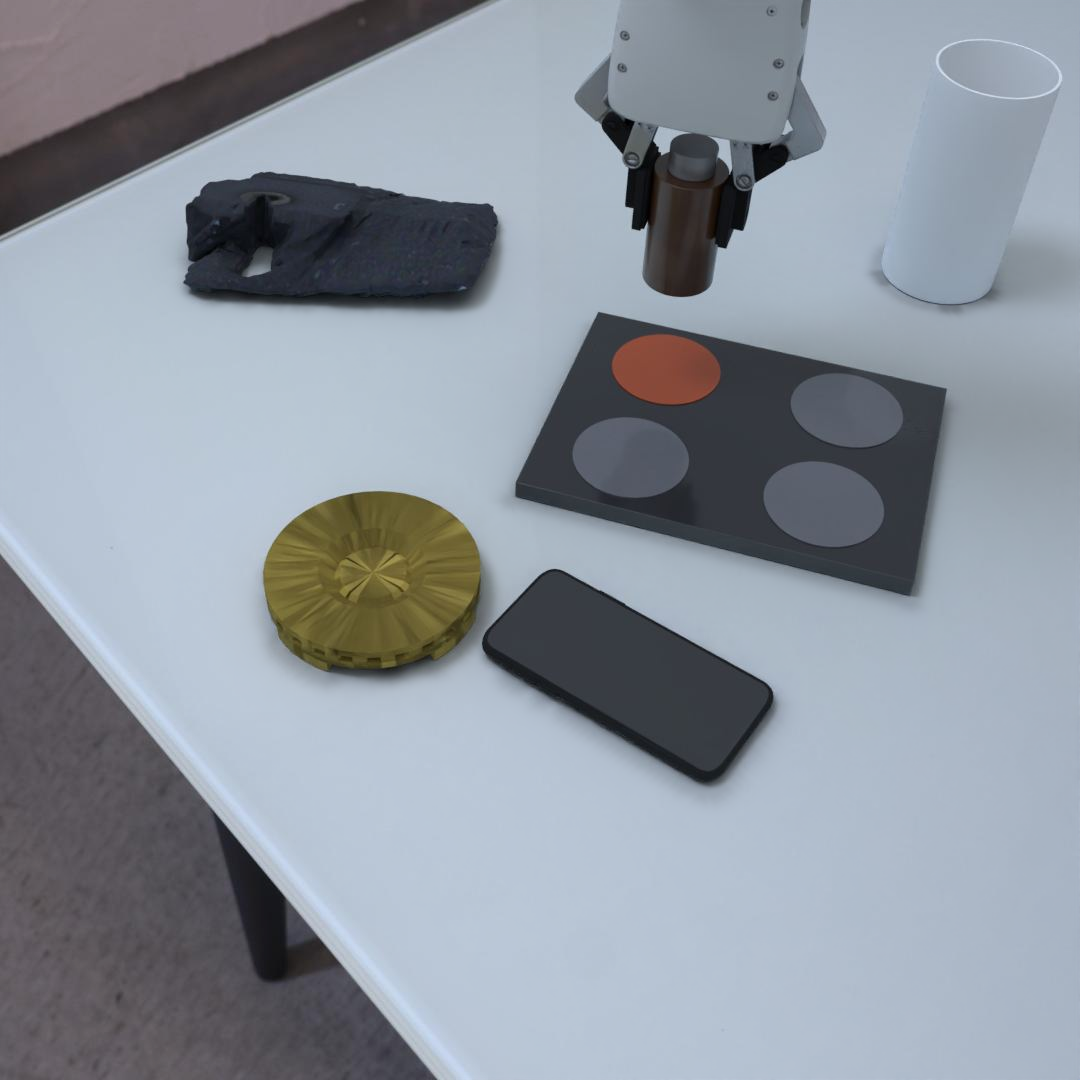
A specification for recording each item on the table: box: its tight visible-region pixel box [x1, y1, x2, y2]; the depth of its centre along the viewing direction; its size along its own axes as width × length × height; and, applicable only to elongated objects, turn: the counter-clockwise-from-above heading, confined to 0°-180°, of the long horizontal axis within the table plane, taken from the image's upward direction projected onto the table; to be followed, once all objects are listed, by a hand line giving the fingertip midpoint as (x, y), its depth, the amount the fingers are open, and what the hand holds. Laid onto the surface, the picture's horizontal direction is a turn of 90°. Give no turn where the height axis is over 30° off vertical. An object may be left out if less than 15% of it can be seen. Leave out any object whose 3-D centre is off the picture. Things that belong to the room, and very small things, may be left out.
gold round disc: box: [262, 490, 482, 672], centre depth 74 cm, size 12×12×2 cm
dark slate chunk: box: [182, 171, 499, 299], centre depth 95 cm, size 15×22×5 cm
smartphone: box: [481, 568, 774, 783], centre depth 70 cm, size 7×1×15 cm
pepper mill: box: [641, 132, 730, 298], centre depth 78 cm, size 4×4×9 cm
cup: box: [880, 38, 1063, 305], centre depth 92 cm, size 8×8×16 cm
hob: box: [514, 311, 948, 596], centre depth 83 cm, size 24×18×1 cm
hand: (684, 224), depth 79 cm, fingers closed on pepper mill, 4 cm apart
